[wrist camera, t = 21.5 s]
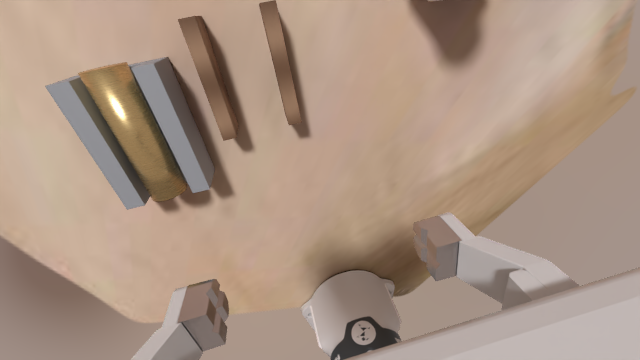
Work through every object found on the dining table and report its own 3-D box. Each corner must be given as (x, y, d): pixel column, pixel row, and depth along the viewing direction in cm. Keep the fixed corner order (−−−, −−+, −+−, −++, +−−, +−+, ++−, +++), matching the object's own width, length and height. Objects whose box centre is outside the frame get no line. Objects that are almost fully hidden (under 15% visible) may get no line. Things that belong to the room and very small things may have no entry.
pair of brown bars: (297, 112, 36) (301, 122, 33) (226, 128, 35) (223, 140, 32) (273, 1, 30) (275, 0, 26) (186, 19, 29) (177, 19, 26)
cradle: (215, 169, 38) (210, 189, 33) (141, 187, 37) (127, 209, 33) (167, 56, 30) (153, 63, 26) (75, 76, 29) (45, 86, 25)
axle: (190, 178, 35) (183, 196, 32) (157, 187, 35) (147, 205, 32) (132, 60, 28) (116, 66, 25) (90, 68, 28) (68, 76, 24)
